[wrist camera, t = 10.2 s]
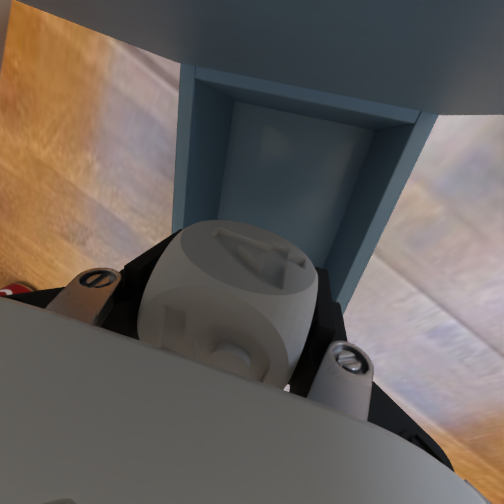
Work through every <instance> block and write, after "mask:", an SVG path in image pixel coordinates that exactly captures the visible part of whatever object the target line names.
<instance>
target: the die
mask: <svg viewBox="0 0 504 504" xmlns="http://www.w3.org/2000/svg"><path fill="white" fill-rule="evenodd" d="M317 291H318V275H317V272H316V270H315V268H314V266H313V264H312V262H311V260H310V259H309V258H308V257H307V255H306V254H305V253H304V252H303V251H302V250H300V249H299V248H298V247H297V246H295V245H294V244H293V243H291V242H289V241H288V240H286V239H284V238H283V237H281V236H279V235H277V234H275V233H273V232H270V231H268V230H265V229H263V228H260V227H257V226H253V225H250V224H246V223H241V222H235V221H228V220H208V221H202V222H198V223H195V224H193V225H190V226H188V227H187V228H185V229H183V230H182V231H181V232H180V233H179V234H177V236H176V237H175V238H174V239H173V240H172V241H171V242H170V244H169V245H168V246H167V248H166V249H165V251H164V252H163V254H162V255H161V257H160V259H159V260H158V262H157V264H156V266H155V268H154V270H153V272H152V274H151V276H150V278H149V280H148V283H147V285H146V288H145V291H144V294H143V296H142V300H141V303H140V307H139V312H138V319H137V331H138V336H139V340H140V341H142V342H145V343H148V344H151V345H154V346H157V347H160V348H162V349H165V350H168V351H171V352H174V353H177V354H180V355H183V356H186V357H189V358H192V359H195V360H198V361H200V362H203V363H206V364H209V365H212V366H215V367H218V368H221V369H224V370H227V371H229V372H232V373H235V374H238V375H241V376H244V377H247V378H250V379H252V380H255V381H258V382H261V383H264V384H267V385H270V386H273V387H275V388H278V389H281V390H283V389H284V388H285V386H286V385H287V383H288V381H289V380H290V378H291V376H292V374H293V372H294V370H295V367H296V365H297V363H298V360H299V358H300V355H301V353H302V350H303V347H304V344H305V342H306V338H307V335H308V332H309V329H310V325H311V321H312V317H313V313H314V309H315V304H316V298H317Z"/></svg>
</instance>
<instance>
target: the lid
mask: <svg viewBox="0 0 504 504" xmlns="http://www.w3.org/2000/svg"><path fill="white" fill-rule="evenodd" d="M16 1H19V2H22V3H24V4H27V5H29V6H32V7H35V8H37V9H40V10H42V11H45V12H48V13H50V14H53V15H55V16H58V17H61V18H63V19H66V20H68V21H71V22H74V23H76V24H79V25H81V26H84V27H87V28H89V29H92V30H94V31H97V32H99V33H102V34H105V35H107V36H110V37H112V38H115V39H118V40H120V41H123V42H125V43H128V44H131V45H133V46H136V47H138V48H141V49H144V50H146V51H149V52H151V53H154V54H157V55H159V56H162V57H164V58H167V59H170V60H172V61H175V62H178V63H183V64H188V65H193V66H198V67H203V68H208V69H213V70H218V71H223V72H228V73H233V74H238V75H243V76H248V77H253V78H258V79H263V80H268V81H273V82H278V83H283V84H288V85H293V86H298V87H303V88H308V89H313V90H318V91H323V92H328V93H333V94H338V95H343V96H348V97H353V98H358V99H363V100H368V101H373V102H378V103H383V104H388V105H393V106H398V107H403V108H408V109H413V110H418V111H423V112H428V113H433V114H438V115H504V0H16Z"/></svg>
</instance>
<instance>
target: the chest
mask: <svg viewBox="0 0 504 504" xmlns="http://www.w3.org/2000/svg"><path fill="white" fill-rule="evenodd" d="M437 117H438V114H433V113H428V112H423V111H418V110H413V109H408V108H403V107H398V106H393V105H388V104H383V103H378V102H373V101H368V100H363V99H358V98H353V97H348V96H343V95H338V94H333V93H328V92H323V91H318V90H313V89H308V88H303V87H298V86H293V85H288V84H283V83H278V82H273V81H268V80H263V79H258V78H253V77H248V76H243V75H238V74H233V73H228V72H223V71H218V70H213V69H208V68H203V67H198V66H193V65H188V64H183V63H181V66H180V85H179V104H178V122H177V141H176V160H175V178H174V197H173V216H172V234H173V233H175V232H176V231H178V230H179V229H185V228H187V227H188V226H190V225H193V224H195V223H198V222H202V221H208V220H228V221H235V222H241V223H246V224H250V225H253V226H257V227H260V228H263V229H265V230H268V231H270V232H273V233H275V234H277V235H279V236H281V237H283V238H284V239H286V240H288V241H289V242H291V243H293V244H294V245H295V246H297V247H298V248H299V249H300V250H302V251H303V252H304V253H305V254H306V255H307V257H308V258H309V259H310V260H311V262H312V264H313V266H314V268H315V267H318V268H322V269H326V270H328V274H329V281H330V288H331V296H332V301H336V302H339V303H340V305H341V310H342V315H343V314H344V312H345V310H346V307H347V305H348V303H349V301H350V299H351V297H352V295H353V293H354V291H355V289H356V287H357V284H358V282H359V280H360V278H361V276H362V274H363V272H364V270H365V268H366V266H367V264H368V261H369V259H370V257H371V255H372V253H373V251H374V249H375V247H376V245H377V243H378V241H379V238H380V236H381V234H382V232H383V230H384V228H385V226H386V224H387V222H388V220H389V218H390V215H391V213H392V211H393V209H394V207H395V205H396V203H397V201H398V199H399V197H400V195H401V193H402V190H403V188H404V186H405V184H406V182H407V180H408V178H409V176H410V174H411V172H412V170H413V167H414V165H415V163H416V161H417V159H418V157H419V155H420V153H421V151H422V149H423V147H424V144H425V142H426V140H427V138H428V136H429V134H430V132H431V130H432V128H433V126H434V124H435V121H436V119H437ZM172 234H171V235H172Z"/></svg>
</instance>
